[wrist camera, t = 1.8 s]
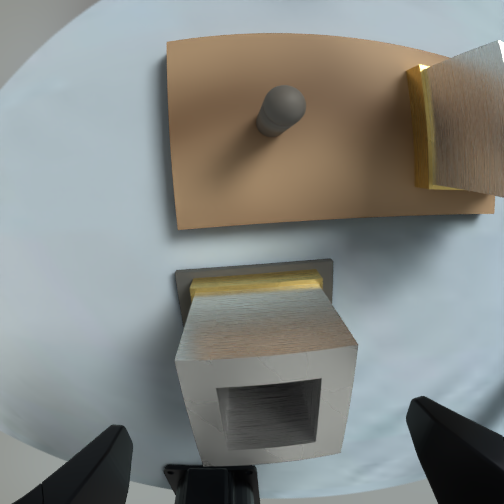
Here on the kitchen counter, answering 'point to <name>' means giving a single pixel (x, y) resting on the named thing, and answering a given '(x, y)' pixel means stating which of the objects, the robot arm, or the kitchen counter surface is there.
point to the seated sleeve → (460, 121)
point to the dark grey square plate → (186, 276)
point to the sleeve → (265, 369)
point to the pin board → (296, 131)
